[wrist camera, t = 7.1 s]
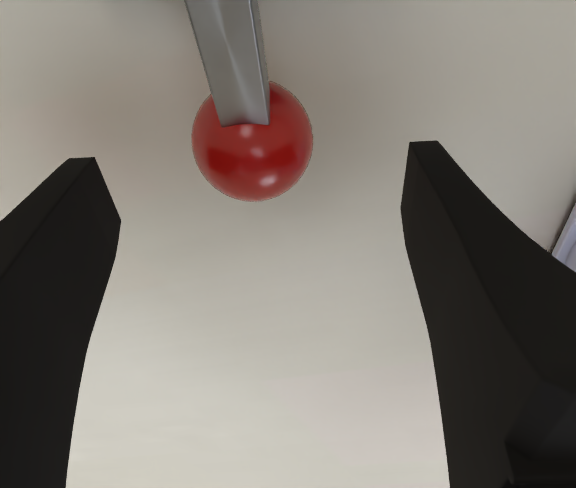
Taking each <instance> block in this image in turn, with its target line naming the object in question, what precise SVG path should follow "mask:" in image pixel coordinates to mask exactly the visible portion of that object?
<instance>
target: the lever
mask: <svg viewBox="0 0 576 488" xmlns="http://www.w3.org/2000/svg"><path fill="white" fill-rule="evenodd" d="M184 2H185V6H186V9H187V12H188V16H189V19H190V22H191V26H192V29H193V33H194V36H195V39H196V43H197V46H198V49H199V53H200V56H201V60H202V63H203V66H204V70H205V73H206V77H207V80H208V83H209V87H210V90H211V94H210V95H209V96H208V97H207V98H206V100H205V101H204V102H203V104H202V105H201V107H200V108H199V110H198V112H197V115H196V117H195V120H194V123H193V128H192V150H193V154H194V158H195V161H196V164H197V166H198V167H199V169H200V171H201V173H202V174H203V176H204V177H205V178H206V180H207V181H208V182H209V183H210V184H211V185H212V186H213V187H214V188H215V189H217V190H218V191H220V192H221V193H223V194H225V195H227V196H229V197H232V198H234V199H237V200H242V201H252V202H254V201H264V200H269V199H272V198H274V197H277V196H279V195H281V194H283V193H284V192H286V191H287V190H289V189H290V188H291V187H293V186H294V185H295V184H296V183H297V182H298V180H299V179H300V178H301V177H302V175H303V174H304V172H305V170H306V168H307V166H308V164H309V161H310V158H311V154H312V148H313V134H312V127H311V123H310V120H309V117H308V115H307V113H306V111H305V109H304V107H303V106H302V104H301V103H300V102H299V100H298V99H297V98H296V97H295V96H294V95H293V94H292V93H291V92H290V91H288V90H287V89H285V88H284V87H282V86H281V85H279V84H277V83H275V82H272V81H269V80H268V73H267V66H266V59H265V51H264V44H263V36H262V29H261V22H260V14H259V7H258V0H184Z"/></svg>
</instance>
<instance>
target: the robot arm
mask: <svg viewBox="0 0 576 488" xmlns="http://www.w3.org/2000/svg"><path fill="white" fill-rule="evenodd" d="M401 216H402V224H403V232H404V239H405V246H406V250H407V254H408V258H409V261H410V265H411V269H412V273H413V276H414V280H415V284H416V288H417V291H418V295H419V299H420V302H421V306H422V310H423V313H424V317H425V321H426V324H427V329H428V333H429V338H430V342H431V348H432V355H433V361H434V368H435V374H436V380H437V387H438V394H439V401H440V408H441V415H442V423H443V431H444V439H445V447H446V455H447V463H448V472H449V482H450V488H576V203H575V206H574V208H573V210H572V212H571V214H570V216H569V218H568V220H567V222H566V225H565V227H564V229H563V231H562V233H561V235H560V237H559V239H558V242H557V244H556V246H555V248H554V250H553V252H552V254H550V253H549V252H547V251H546V250H545V249H544V248H542V247H541V246H540V245H538V244H537V243H536V242H535V241H533V240H532V239H531V238H530V237H528V236H527V235H526V234H525V233H524V232H523V231H521V230H520V229H519V228H518V227H517V226H516V225H515V224H514V223H513V222H512V221H511V220H509V219H508V218H507V217H506V216H505V215H504V214H503V213H502V212H501V211H500V210H499V209H498V208H497V207H496V206H495V205H494V204H493V203H492V202H491V201H490V200H489V199H488V198H487V197H486V195H485V194H484V193H483V192H482V191H481V190H480V189H479V188H478V187H477V186H476V185H475V184H474V183H473V182H472V180H471V179H470V178H469V177H468V176H467V175H466V174H465V172H464V171H463V170H462V169H461V168H460V167H459V165H458V164H457V163H456V162H455V161H454V160H453V158H452V157H451V156H450V155H449V154H448V152H447V151H446V150H445V149H444V148H443V146H442V145H441V144H440V143H439V142H438V141H418V142H409V149H408V157H407V164H406V172H405V179H404V186H403V194H402V201H401ZM120 225H121V219H120V217H119V214H118V212H117V209H116V207H115V205H114V202H113V200H112V197H111V195H110V193H109V190H108V188H107V186H106V183H105V181H104V178H103V176H102V174H101V171H100V169H99V166H98V164H97V162H96V159H95V157H88V158H69V159H68V160H66V161H65V162H64V163H63V164H62V165H61V166H59V167H58V168H57V169H56V170H55V171H54V172H53V173H52V174H51V175H50V176H49V177H48V178H46V179H45V180H44V181H43V182H42V183H41V184H40V185H39V186H38V187H37V188H36V189H35V190H34V191H33V192H32V193H31V194H30V195H29V196H27V197H26V198H25V199H24V200H23V201H22V202H21V203H20V204H19V205H18V206H17V207H16V208H15V209H14V210H12V211H11V212H10V213H9V214H8V215H7V216H6V217H5V218H4V219H3V220H1V221H0V488H66V478H67V468H68V460H69V453H70V445H71V438H72V430H73V423H74V417H75V411H76V405H77V399H78V393H79V387H80V382H81V377H82V372H83V367H84V362H85V357H86V352H87V348H88V344H89V341H90V337H91V334H92V331H93V327H94V324H95V321H96V318H97V315H98V312H99V309H100V305H101V302H102V299H103V296H104V293H105V290H106V287H107V283H108V280H109V277H110V274H111V270H112V267H113V264H114V260H115V257H116V251H117V245H118V239H119V232H120Z"/></svg>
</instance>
